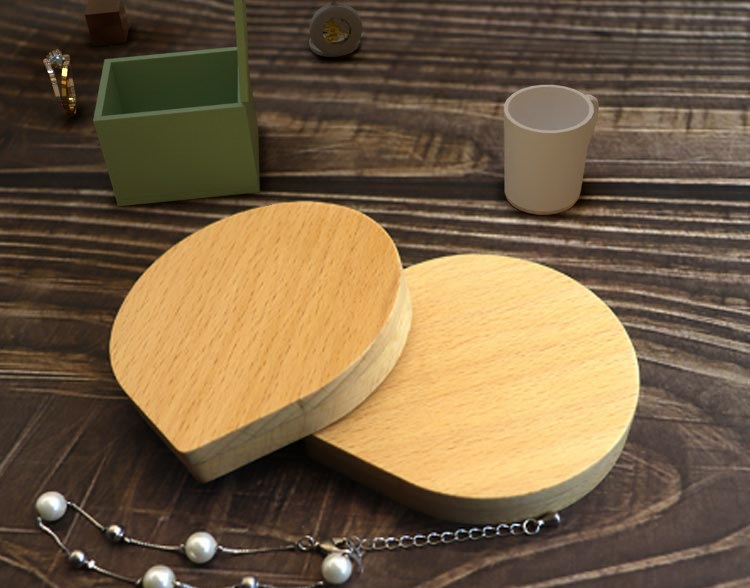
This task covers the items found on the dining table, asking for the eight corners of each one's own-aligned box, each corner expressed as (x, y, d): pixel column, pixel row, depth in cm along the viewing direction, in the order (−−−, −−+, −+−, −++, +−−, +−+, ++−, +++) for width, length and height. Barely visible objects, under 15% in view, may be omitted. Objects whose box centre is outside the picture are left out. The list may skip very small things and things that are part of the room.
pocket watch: (337, 29, 136) (331, -44, 129) (379, 50, 132) (375, -25, 124) (290, 52, 133) (281, -22, 125) (332, 75, 128) (325, -1, 121)
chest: (117, 206, 111) (92, 120, 103) (126, 142, 120) (104, 59, 112) (259, 192, 112) (245, 106, 104) (258, 129, 120) (245, 45, 113)
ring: (65, 99, 128) (46, 40, 122) (90, 97, 128) (73, 38, 122) (55, 130, 123) (35, 70, 117) (81, 128, 123) (63, 68, 117)
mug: (535, 229, 105) (541, 143, 97) (483, 187, 110) (485, 103, 103) (616, 191, 108) (628, 106, 101) (562, 152, 114) (570, 69, 106)
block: (93, 46, 137) (84, 14, 134) (96, 30, 140) (88, -1, 137) (126, 43, 137) (118, 11, 134) (129, 27, 140) (121, -5, 137)
